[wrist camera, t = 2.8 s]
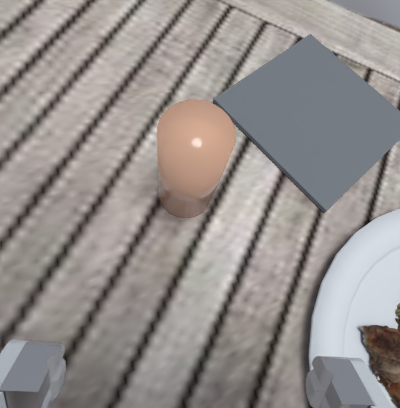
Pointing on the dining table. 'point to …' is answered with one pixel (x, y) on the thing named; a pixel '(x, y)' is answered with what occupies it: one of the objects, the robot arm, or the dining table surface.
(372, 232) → the plated food
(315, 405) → the robot arm
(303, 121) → the mat
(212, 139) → the tan rounded cylinder
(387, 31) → the dining table surface
